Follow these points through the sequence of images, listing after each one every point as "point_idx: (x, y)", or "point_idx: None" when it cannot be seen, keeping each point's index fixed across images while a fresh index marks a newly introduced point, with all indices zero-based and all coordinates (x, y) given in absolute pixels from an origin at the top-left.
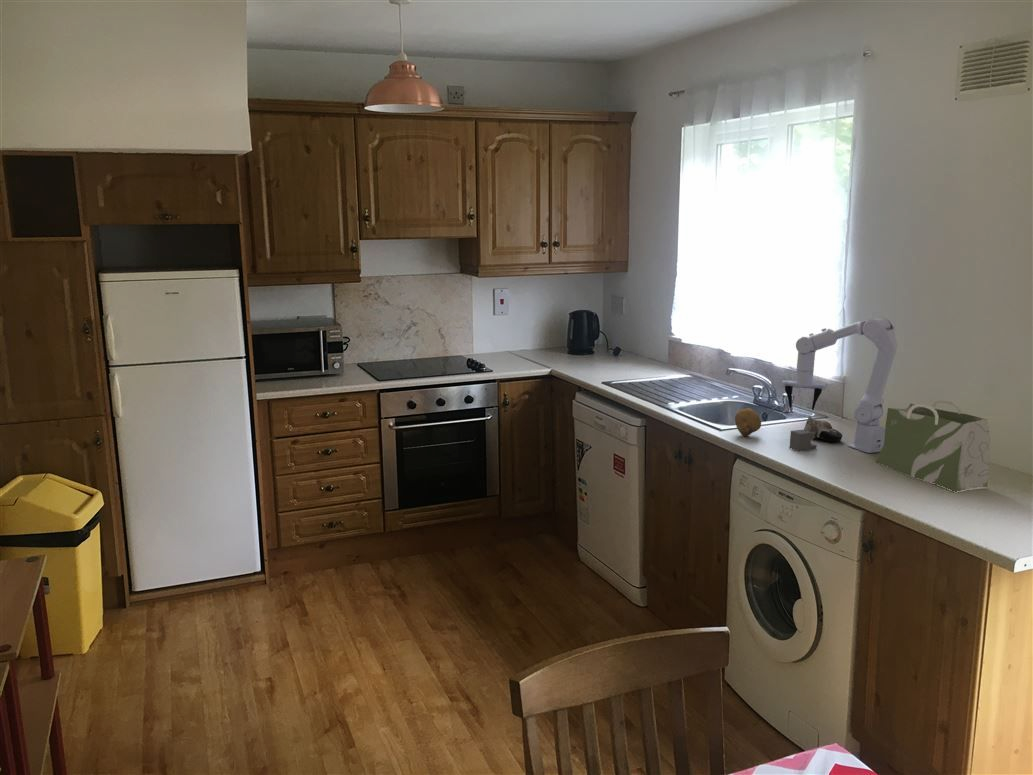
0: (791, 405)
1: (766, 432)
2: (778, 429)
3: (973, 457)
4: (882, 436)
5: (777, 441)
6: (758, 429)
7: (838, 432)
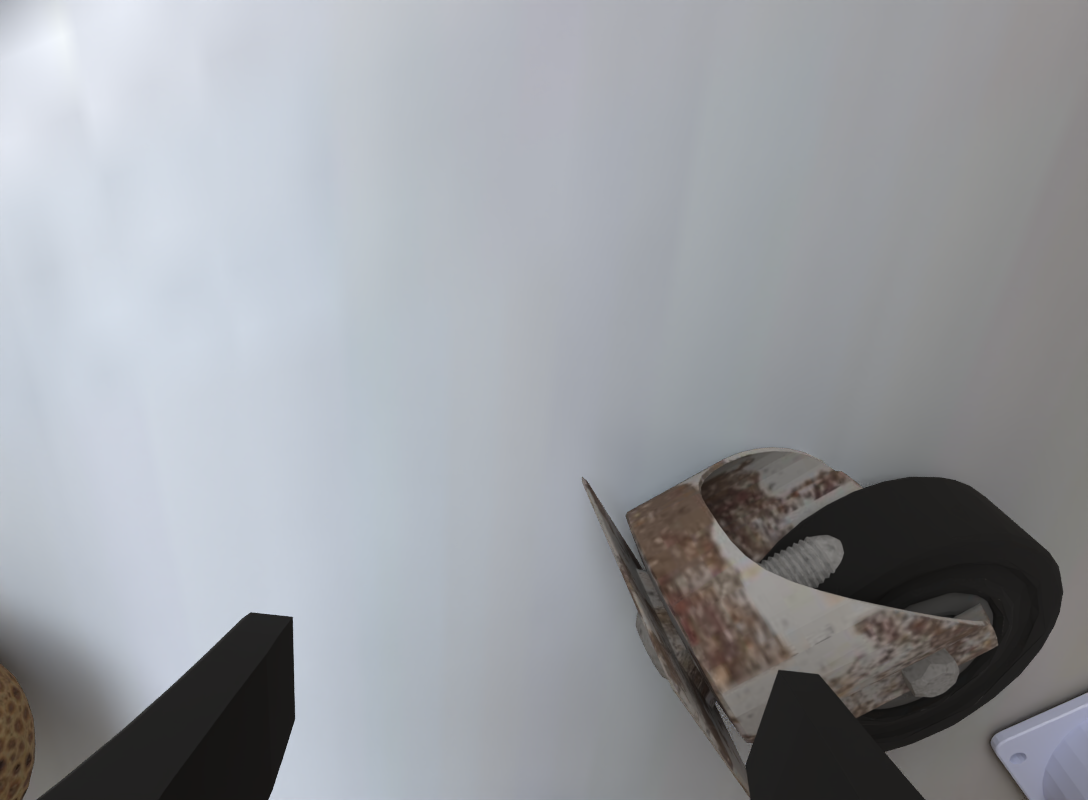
0: (281, 672)
1: (131, 423)
2: (259, 198)
3: None
4: None
5: (303, 735)
6: (34, 755)
7: (1034, 598)
